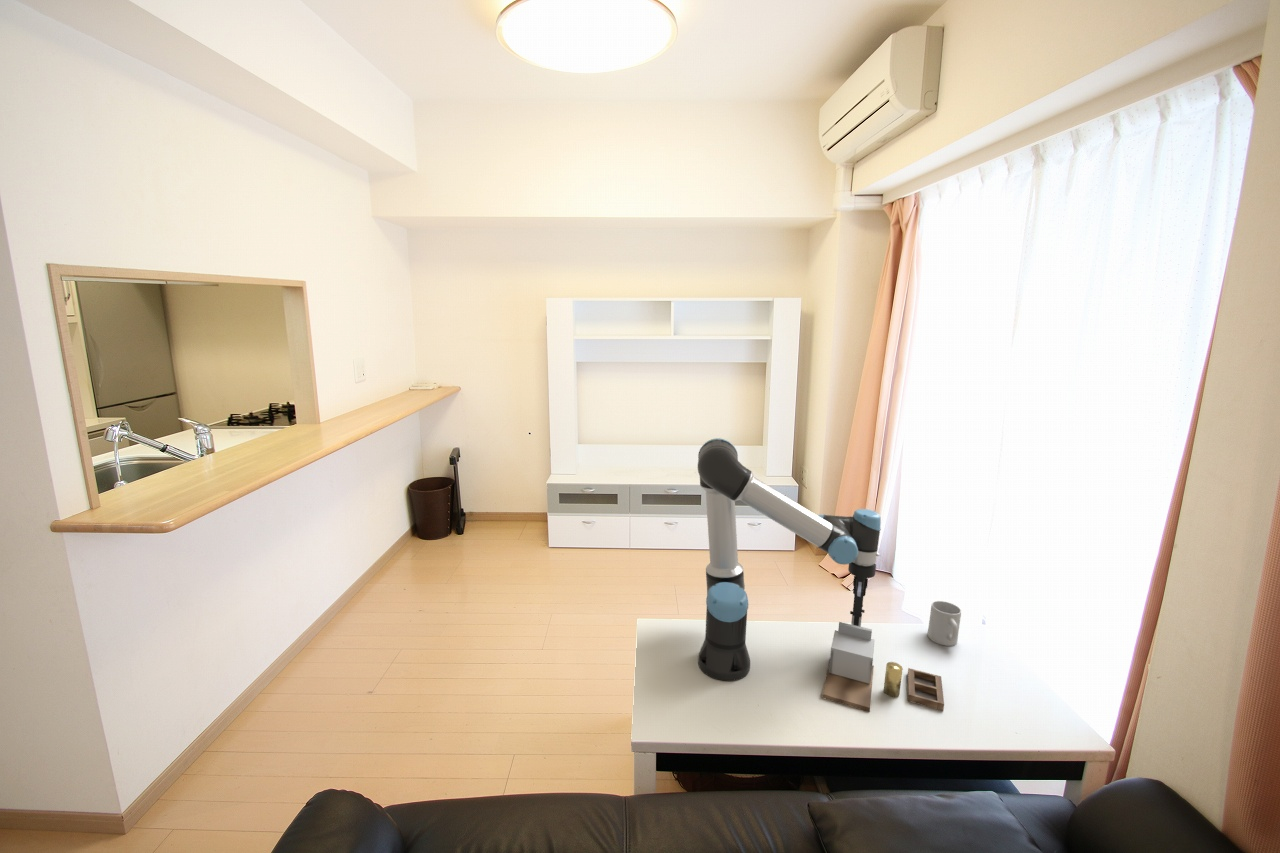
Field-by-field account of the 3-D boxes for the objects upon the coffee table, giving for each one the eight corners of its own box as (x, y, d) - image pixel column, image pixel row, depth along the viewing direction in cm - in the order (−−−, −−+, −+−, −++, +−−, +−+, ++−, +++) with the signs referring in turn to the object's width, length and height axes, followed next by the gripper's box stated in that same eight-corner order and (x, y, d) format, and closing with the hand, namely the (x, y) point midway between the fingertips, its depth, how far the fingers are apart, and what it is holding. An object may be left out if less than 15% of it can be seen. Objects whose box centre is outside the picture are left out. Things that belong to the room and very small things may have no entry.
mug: (922, 630, 182) (926, 600, 180) (949, 632, 181) (953, 601, 179) (939, 651, 170) (943, 619, 168) (967, 653, 170) (972, 621, 168)
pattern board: (821, 697, 148) (823, 682, 147) (830, 658, 166) (831, 643, 165) (869, 711, 143) (871, 695, 142) (873, 669, 161) (874, 654, 160)
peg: (883, 694, 150) (886, 668, 149) (883, 686, 154) (886, 660, 152) (899, 699, 148) (902, 672, 147) (899, 690, 152) (902, 664, 150)
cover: (828, 672, 157) (832, 638, 155) (832, 653, 166) (835, 621, 164) (870, 683, 152) (874, 648, 150) (872, 664, 161) (875, 630, 159)
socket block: (907, 701, 148) (908, 694, 147) (907, 674, 159) (908, 668, 159) (943, 710, 144) (944, 704, 144) (940, 682, 156) (941, 676, 155)
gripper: (875, 572, 157) (867, 647, 161) (877, 555, 168) (869, 625, 173) (847, 567, 160) (840, 640, 164) (851, 550, 171) (844, 619, 176)
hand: (855, 632), depth 168 cm, fingers closed
